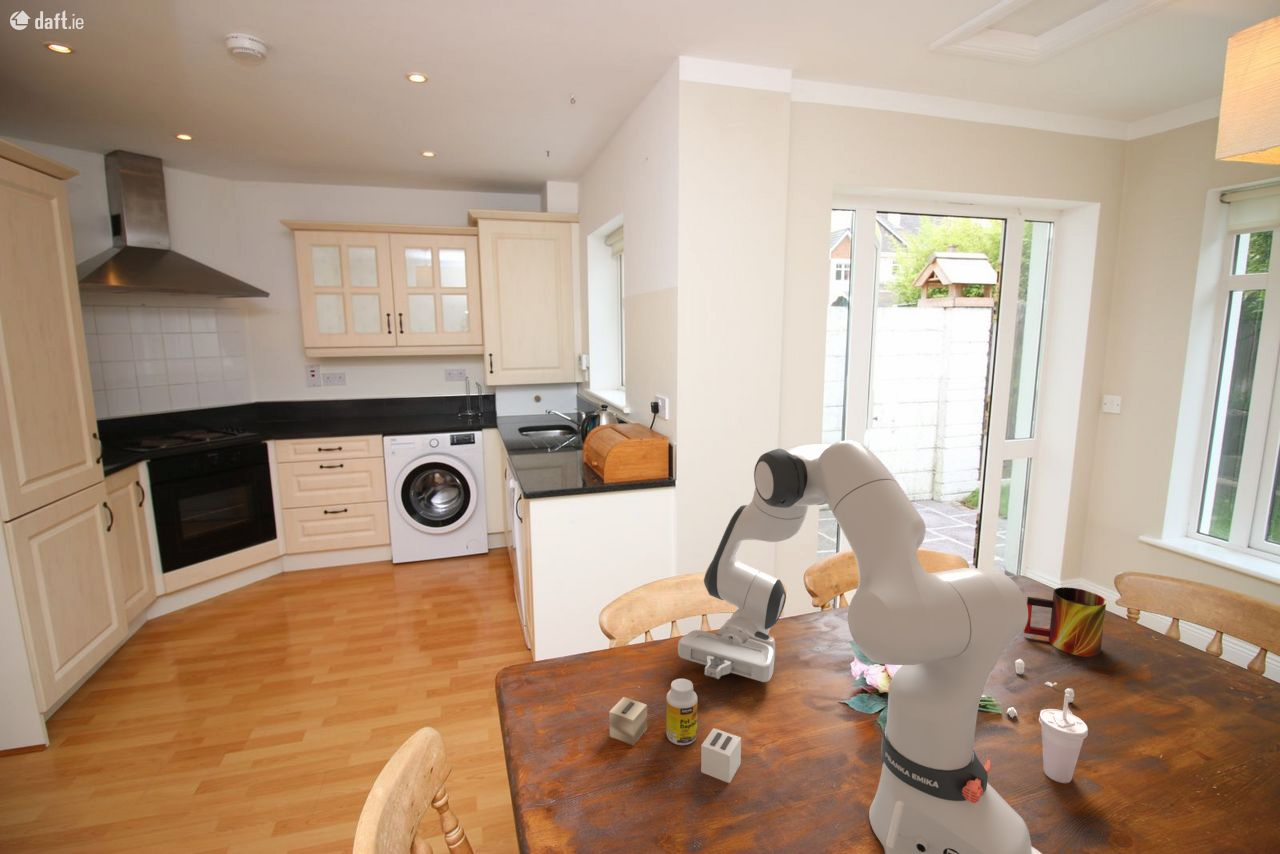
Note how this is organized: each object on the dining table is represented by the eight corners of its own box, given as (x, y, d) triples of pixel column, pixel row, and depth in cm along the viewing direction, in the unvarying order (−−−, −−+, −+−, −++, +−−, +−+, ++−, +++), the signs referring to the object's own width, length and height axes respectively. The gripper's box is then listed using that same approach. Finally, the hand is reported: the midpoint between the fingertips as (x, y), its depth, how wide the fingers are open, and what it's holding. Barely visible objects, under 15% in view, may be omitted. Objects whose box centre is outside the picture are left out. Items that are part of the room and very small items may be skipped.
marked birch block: (647, 729, 108) (646, 703, 107) (633, 746, 104) (633, 719, 103) (623, 721, 110) (623, 695, 110) (609, 736, 106) (609, 710, 105)
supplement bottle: (679, 751, 102) (679, 697, 100) (660, 734, 107) (659, 682, 105) (703, 739, 105) (704, 686, 104) (684, 722, 110) (684, 672, 108)
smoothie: (1085, 774, 96) (1094, 696, 94) (1077, 796, 91) (1087, 714, 89) (1039, 754, 100) (1047, 679, 98) (1029, 774, 96) (1037, 696, 94)
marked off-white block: (740, 764, 99) (741, 736, 98) (729, 783, 95) (729, 754, 94) (713, 753, 102) (713, 726, 101) (701, 772, 97) (701, 744, 96)
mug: (1021, 635, 140) (1026, 588, 138) (1077, 634, 140) (1083, 586, 138) (1050, 657, 130) (1056, 607, 128) (1111, 656, 130) (1117, 605, 129)
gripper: (693, 617, 133) (664, 645, 121) (781, 640, 123) (760, 673, 111) (692, 643, 134) (664, 673, 122) (781, 667, 124) (759, 703, 112)
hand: (711, 673), depth 116 cm, fingers closed
